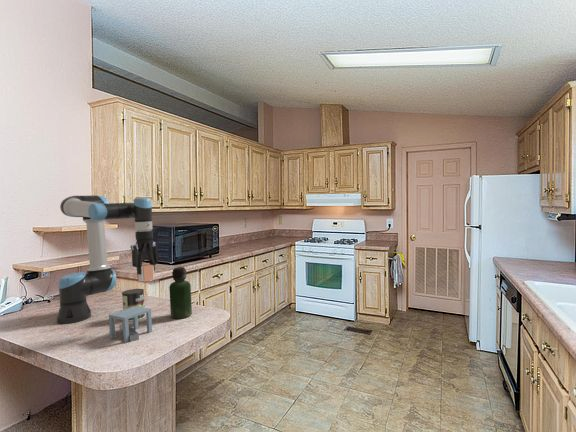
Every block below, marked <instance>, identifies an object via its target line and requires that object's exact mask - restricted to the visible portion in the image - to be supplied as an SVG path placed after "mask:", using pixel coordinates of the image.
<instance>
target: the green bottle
mask: <svg viewBox="0 0 576 432" xmlns="http://www.w3.org/2000/svg"><path fill="white" fill-rule="evenodd" d="M171 273H172V278H173V280H174V281H173V282H172V283H170V284H169V287H168V291H169V303H170V304H169V306H170V317H171V318H172V319H175V320H177V319H179V320H181V319H185V318H188V317H190V316H191V315H193V312H192V311H193V310H192V292H191V290H192V288H191V286H192V285H191V283H190V282H189V281H188V280H186V279H187V270H186V268H185V267H183V266H177V267H174V268H173V269H172V272H171Z"/></svg>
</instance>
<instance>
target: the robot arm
mask: <svg viewBox="0 0 576 432" xmlns="http://www.w3.org/2000/svg"><path fill="white" fill-rule="evenodd" d="M152 207H153V205H152V199H151V198H150V197H135V198H134V199H133V202H114V203H113V202H112V203H111V202H110V201H109V200H108V198H107V197H106V196H104V195H95V194H94V195H71V196H67V197H65V198H64V199H63V200H62V201H61V202H60V206H59V208H60V211H61V213H62V214H63V215H64V216H66V217H71V218H82V221H83V222H84V223H85V224H86V235H87V246H88V247H87V248H88V259H89V267H88V268H87V270H86V272H84V271H78V272H73V273H69V274H65V275H64V276H62V277H60V278H59V280H58V292H59V296H58V297H59V307H58V308H59V309H58V312H57V315H56V323H57V324H60V325H61V324H63V325H65V324H73V323H77V322H81V321H84V320H87V319H89V318H91V317H92V310H91V309H90V306H89V304H88V302H87V301H88V300H87V297H88V296H92V295H96V294H101V293H105V292H108V291H111V290H113V289H114V288H115V286H116V283H117V274H116V271H115V270H114V269H112V267H111V266H110V265H109V264H108V254H107V253H108V252H107V240H106V229H105V226H106V225H105V222H106V221H108V220H121V219H122V220H124V219H125V220H126V219H127V220H128V219H134V229H135V240H136V241H135V244H134V245H133V244H132V245H130V250H131V260H132V261H131V262H132V263H131V265H132V267H133V268H136V275H137V274H138V277H139V281H138V282H141V281H144V274H143V267H142V265H143V261H144V255H145V253H146V254H147V259H148V263H149V265H153V278H154V279H155V271H156V267H155V265H157V263H159V253H158V246H159V242H155V241H154V240H153V238H154V232H153V211H152V210H153V208H152Z"/></svg>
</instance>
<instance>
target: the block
mask: <svg viewBox="0 0 576 432" xmlns="http://www.w3.org/2000/svg"><path fill="white" fill-rule="evenodd" d="M142 267H143V274H144V281H139V277H138V274H137V273H136V277H137V278H136V279H137V280H136V281H137V282H142V283H146V282H150V281H153V280H154V279H155V277H154V278H153V265H151V264H142Z"/></svg>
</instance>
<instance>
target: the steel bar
mask: <svg viewBox="0 0 576 432" xmlns="http://www.w3.org/2000/svg"><path fill="white" fill-rule="evenodd" d="M128 325H129V342H130V343H131V342H135V341H139V340H140V335H139V333H138V331H137V330H135V329H134V328H133V326H131V325H130V324H129V323H128ZM119 332H121V334H122V335H123V323H121V324H119Z"/></svg>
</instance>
